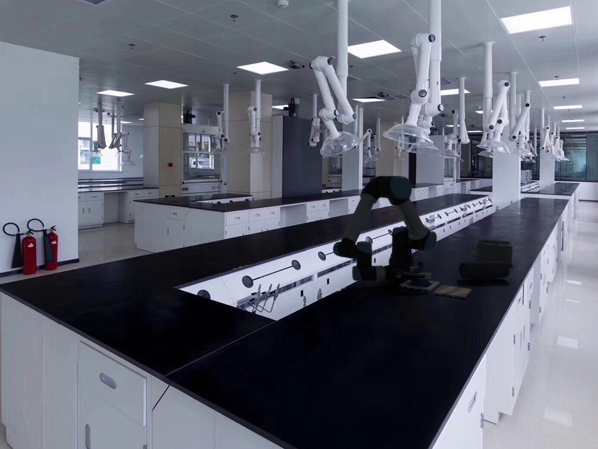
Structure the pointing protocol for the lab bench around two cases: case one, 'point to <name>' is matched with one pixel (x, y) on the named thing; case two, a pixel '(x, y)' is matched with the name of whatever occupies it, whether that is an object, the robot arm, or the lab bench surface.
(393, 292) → the lab bench surface
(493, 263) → the bluetooth speaker
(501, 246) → the geiger counter
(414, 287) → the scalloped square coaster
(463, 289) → the beige square cloth
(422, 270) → the perfume bottle
